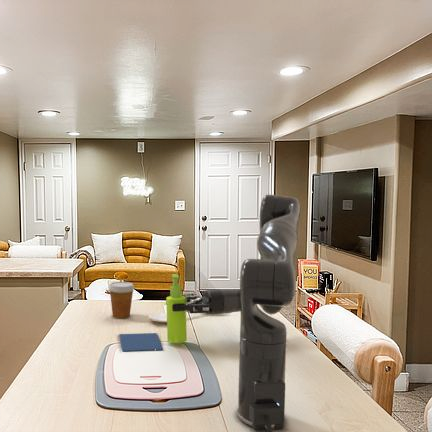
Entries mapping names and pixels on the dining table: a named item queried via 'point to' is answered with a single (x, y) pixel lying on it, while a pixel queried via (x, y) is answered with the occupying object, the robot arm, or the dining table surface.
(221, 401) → the dining table surface
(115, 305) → the disposable coffee cup
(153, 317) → the spoon
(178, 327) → the soap dispenser
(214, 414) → the dining table surface
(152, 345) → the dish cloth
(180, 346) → the dining table surface
